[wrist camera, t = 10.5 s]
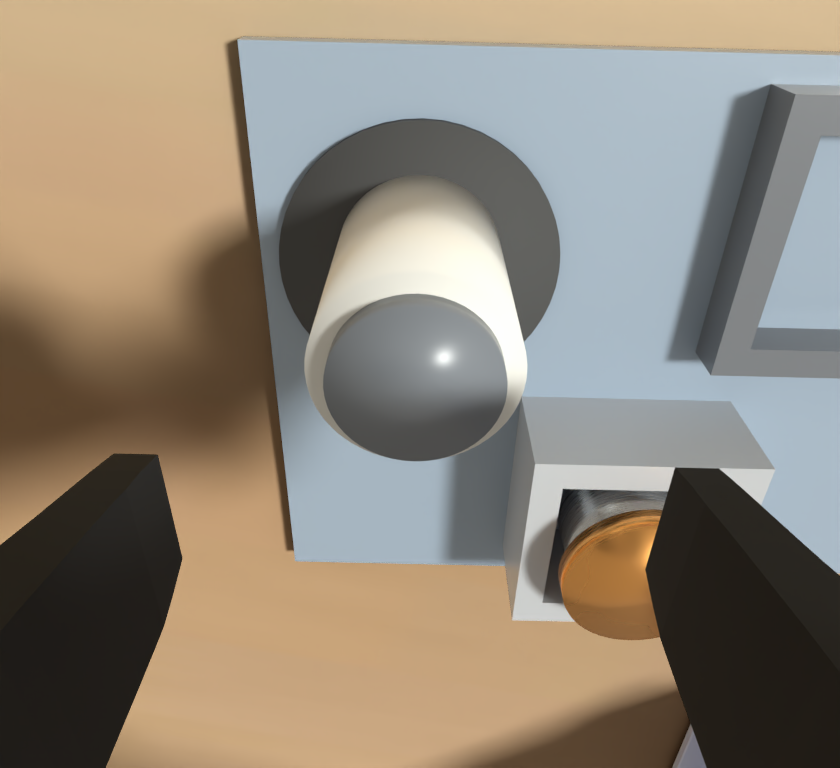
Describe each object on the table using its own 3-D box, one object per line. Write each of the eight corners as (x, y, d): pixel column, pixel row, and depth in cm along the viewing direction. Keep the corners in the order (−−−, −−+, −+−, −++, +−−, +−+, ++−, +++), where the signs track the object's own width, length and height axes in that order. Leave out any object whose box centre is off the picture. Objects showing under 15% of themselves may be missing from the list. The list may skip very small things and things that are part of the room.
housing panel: (926, 562, 24) (998, 652, 21) (298, 547, 24) (279, 636, 21) (1234, 61, 15) (1434, 92, 12) (243, 36, 15) (197, 60, 12)
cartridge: (517, 189, 16) (557, 304, 11) (481, 337, 18) (502, 489, 13) (347, 161, 16) (308, 266, 11) (331, 315, 18) (293, 463, 13)
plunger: (665, 542, 22) (705, 641, 19) (535, 539, 22) (553, 638, 19) (698, 437, 20) (749, 532, 16) (551, 434, 20) (575, 527, 16)
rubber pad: (540, 381, 19) (542, 388, 19) (292, 376, 19) (290, 382, 19) (577, 122, 15) (580, 125, 15) (267, 114, 15) (265, 117, 15)
